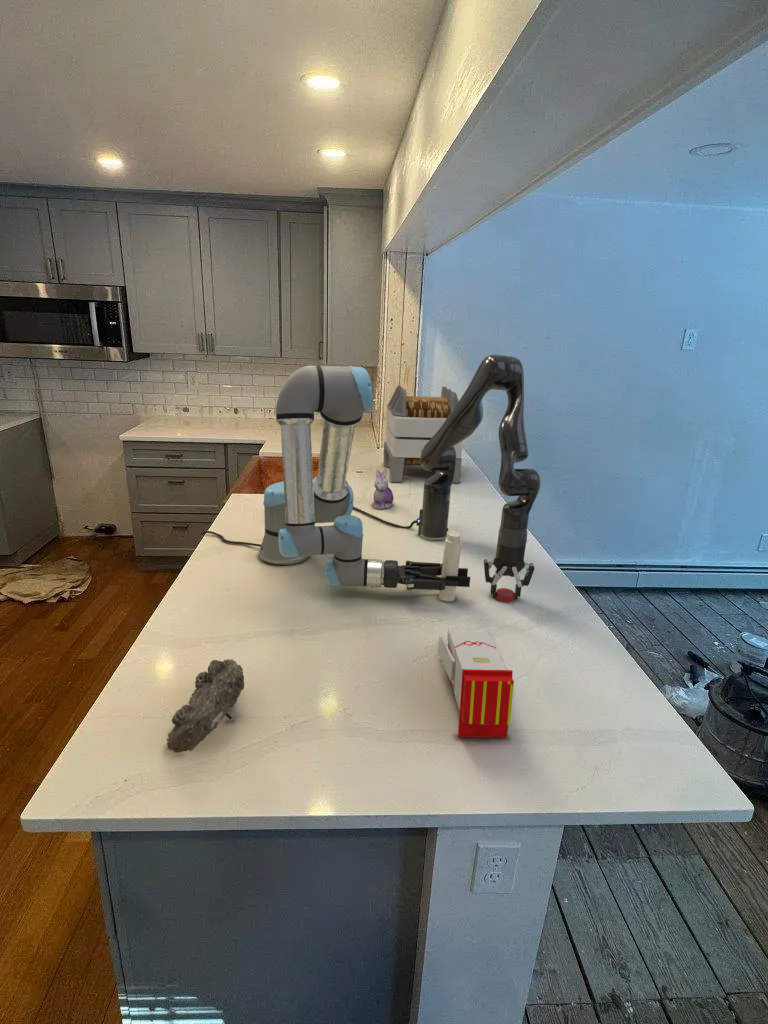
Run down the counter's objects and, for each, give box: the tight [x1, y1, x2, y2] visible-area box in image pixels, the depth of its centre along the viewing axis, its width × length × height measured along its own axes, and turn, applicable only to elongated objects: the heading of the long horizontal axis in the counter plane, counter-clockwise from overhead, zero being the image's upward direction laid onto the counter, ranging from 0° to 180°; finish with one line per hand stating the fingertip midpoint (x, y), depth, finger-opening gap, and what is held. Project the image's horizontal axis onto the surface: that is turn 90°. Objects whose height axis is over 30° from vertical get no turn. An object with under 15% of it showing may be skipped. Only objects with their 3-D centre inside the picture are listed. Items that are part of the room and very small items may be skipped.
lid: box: [495, 587, 515, 603], centre depth 158 cm, size 5×5×2 cm
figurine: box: [372, 468, 394, 510], centre depth 225 cm, size 9×10×15 cm
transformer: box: [383, 384, 464, 484], centre depth 268 cm, size 34×33×41 cm
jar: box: [438, 531, 463, 603], centre depth 154 cm, size 4×4×19 cm
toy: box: [437, 628, 515, 738], centre depth 117 cm, size 12×13×30 cm
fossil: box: [166, 658, 245, 754], centre depth 106 cm, size 22×10×15 cm
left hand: (468, 577), depth 155 cm, fingers closed on jar, 4 cm apart
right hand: (504, 596), depth 158 cm, fingers open, 5 cm apart
